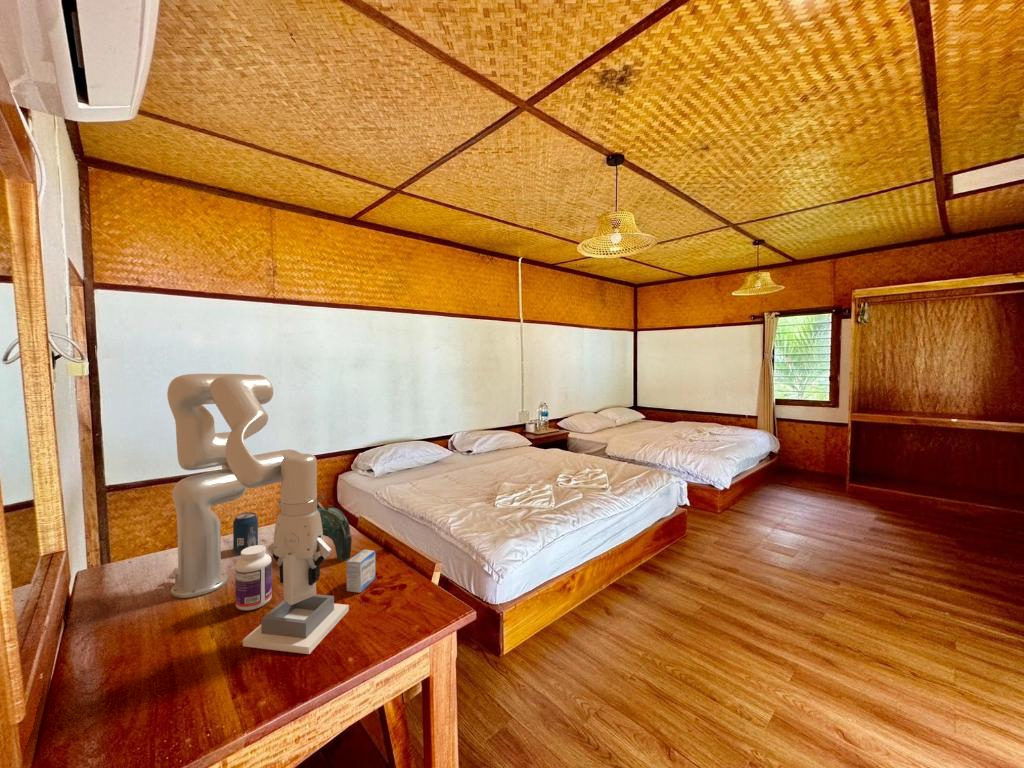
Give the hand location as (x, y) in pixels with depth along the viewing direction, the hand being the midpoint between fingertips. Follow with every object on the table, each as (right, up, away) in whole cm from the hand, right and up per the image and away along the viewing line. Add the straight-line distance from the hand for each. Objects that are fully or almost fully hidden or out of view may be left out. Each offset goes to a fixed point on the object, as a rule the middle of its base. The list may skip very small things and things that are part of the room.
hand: (299, 580), depth 96 cm
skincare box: (0, -4, 0) cm, 4 cm away
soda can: (-39, -10, +40) cm, 57 cm away
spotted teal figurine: (-11, -10, +38) cm, 41 cm away
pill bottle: (-17, -11, +10) cm, 23 cm away
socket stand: (0, -11, 0) cm, 11 cm away
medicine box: (+7, -11, +20) cm, 24 cm away
